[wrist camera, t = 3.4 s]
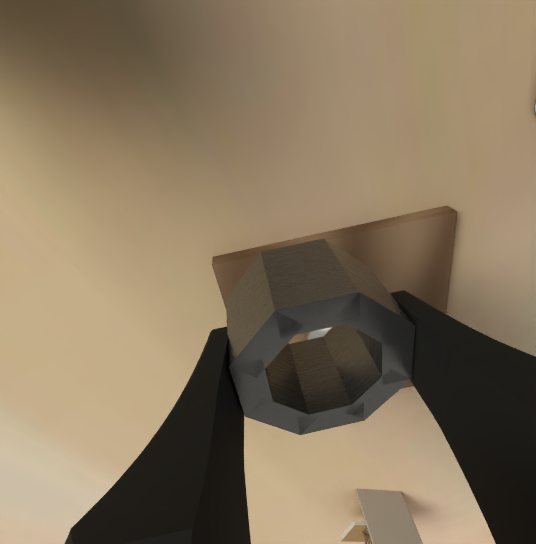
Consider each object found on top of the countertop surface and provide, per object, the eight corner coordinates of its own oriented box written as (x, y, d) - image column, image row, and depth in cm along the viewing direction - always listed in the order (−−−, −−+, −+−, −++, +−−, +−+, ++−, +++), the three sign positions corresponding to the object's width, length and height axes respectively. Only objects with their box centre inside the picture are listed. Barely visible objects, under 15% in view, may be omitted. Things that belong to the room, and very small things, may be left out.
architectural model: (385, 503, 38) (418, 589, 32) (331, 500, 36) (353, 590, 30) (400, 486, 37) (437, 573, 30) (344, 482, 35) (371, 573, 29)
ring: (368, 228, 12) (418, 278, 9) (370, 343, 15) (409, 410, 12) (215, 261, 12) (214, 323, 9) (247, 370, 15) (254, 445, 12)
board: (447, 205, 20) (457, 211, 19) (431, 370, 27) (438, 380, 26) (212, 257, 20) (212, 265, 19) (259, 408, 27) (261, 419, 26)
